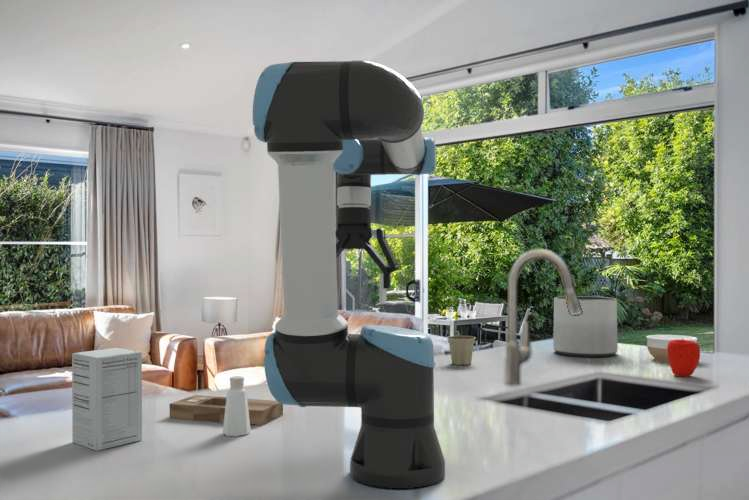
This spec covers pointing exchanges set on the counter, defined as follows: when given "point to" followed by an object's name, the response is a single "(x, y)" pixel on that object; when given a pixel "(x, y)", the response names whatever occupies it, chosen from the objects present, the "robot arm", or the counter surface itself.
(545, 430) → the counter surface
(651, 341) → the bowl
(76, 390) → the supplement box
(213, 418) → the brown flat tray
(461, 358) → the flower pot
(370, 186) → the robot arm
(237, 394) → the pepper shaker
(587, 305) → the planter
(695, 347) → the apple
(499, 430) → the counter surface
